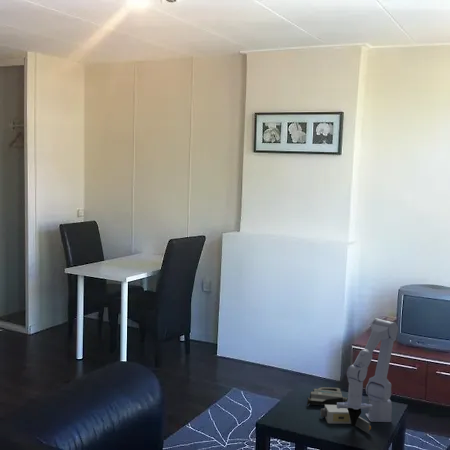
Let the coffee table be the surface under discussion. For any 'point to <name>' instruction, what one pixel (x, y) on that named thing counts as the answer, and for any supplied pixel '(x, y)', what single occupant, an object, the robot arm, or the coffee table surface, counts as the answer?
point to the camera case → (335, 414)
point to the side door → (363, 424)
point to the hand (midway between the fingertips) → (353, 425)
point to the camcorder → (326, 396)
